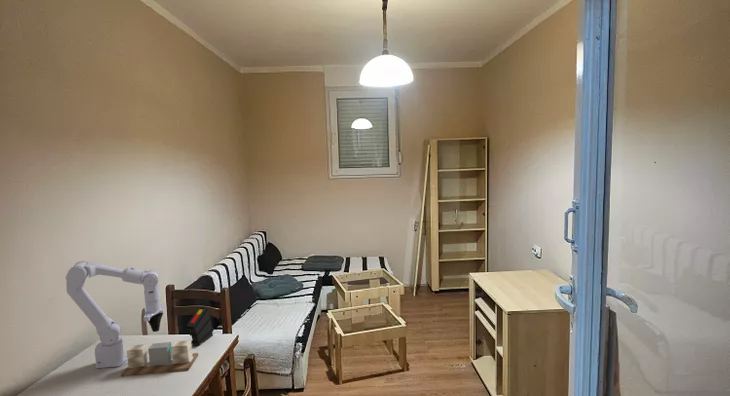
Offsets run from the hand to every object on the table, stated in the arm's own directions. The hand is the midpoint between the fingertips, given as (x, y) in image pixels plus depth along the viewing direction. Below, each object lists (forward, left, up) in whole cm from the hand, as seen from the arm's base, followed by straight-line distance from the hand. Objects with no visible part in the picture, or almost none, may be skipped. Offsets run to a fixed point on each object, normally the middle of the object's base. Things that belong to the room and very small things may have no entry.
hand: (156, 331), depth 173 cm
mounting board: (+6, -11, -10) cm, 16 cm away
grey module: (+6, -11, -8) cm, 15 cm away
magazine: (+16, +8, -10) cm, 20 cm away
